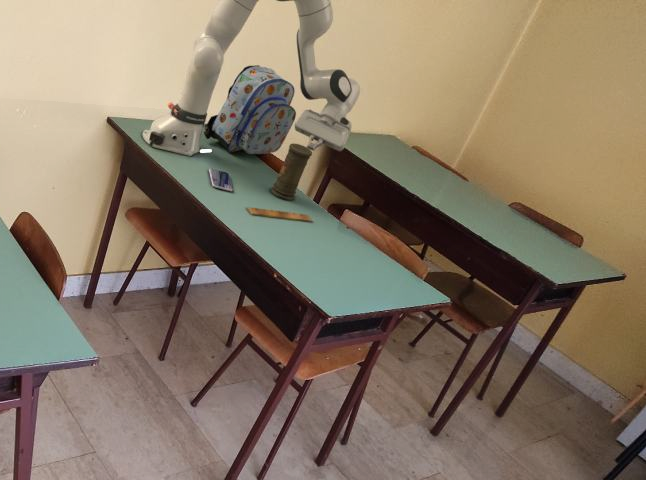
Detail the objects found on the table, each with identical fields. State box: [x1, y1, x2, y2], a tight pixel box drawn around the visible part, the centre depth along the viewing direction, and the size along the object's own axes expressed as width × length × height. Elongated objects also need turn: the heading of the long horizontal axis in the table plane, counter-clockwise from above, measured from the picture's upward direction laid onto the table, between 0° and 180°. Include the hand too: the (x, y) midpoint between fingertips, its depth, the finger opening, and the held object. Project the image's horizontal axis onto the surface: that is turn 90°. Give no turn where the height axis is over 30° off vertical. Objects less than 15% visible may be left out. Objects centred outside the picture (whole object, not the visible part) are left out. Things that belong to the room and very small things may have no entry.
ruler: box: [247, 207, 313, 223], centre depth 208 cm, size 24×4×1 cm, turn 110°
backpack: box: [203, 64, 297, 155], centre depth 242 cm, size 33×25×31 cm
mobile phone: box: [208, 168, 234, 192], centre depth 216 cm, size 8×1×15 cm
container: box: [270, 143, 313, 201], centre depth 219 cm, size 9×9×18 cm
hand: (310, 148), depth 224 cm, fingers closed
